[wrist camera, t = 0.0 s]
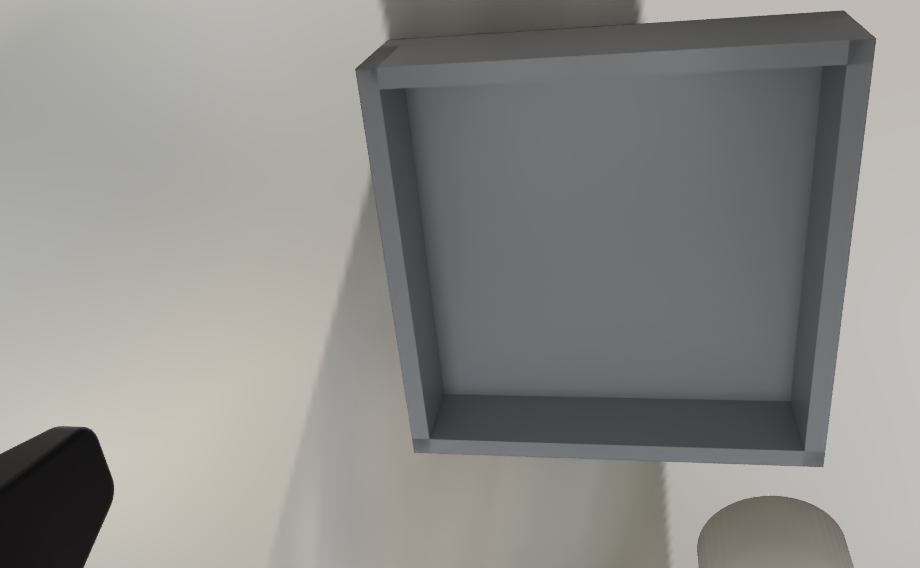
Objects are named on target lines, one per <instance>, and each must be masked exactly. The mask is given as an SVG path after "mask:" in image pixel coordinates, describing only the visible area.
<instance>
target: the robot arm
mask: <svg viewBox="0 0 920 568" xmlns="http://www.w3.org/2000/svg"><path fill="white" fill-rule="evenodd" d="M113 495H114V483H113V479H112V476H111V473H110V471H109V468H108V465H107V462H106V460H105V457H104V454H103V451H102V449H101V446H100V443H99V440H98V438H97V436H96V434H95V433H94V432H93V431H92V430H91V429H89V428H86V427H67V426H65V427H64V426H60V427H54V428H52V429H49V430H47V431H45V432H43V433H41V434H40V435H37V436H35V437H33V438H32V439H29V440H28V441H25V442H23V443H21V444H19V445H17V446H15V447H13V448H12V449H9V450H7V451H6V452H3V453H2V454H0V568H84V565H85V563H86V561H87V558H88V556H89V554H90V552H91V549H92V547H93V545H94V543H95V540H96V538H97V536H98V533H99V531H100V529H101V527H102V524H103V522H104V520H105V517H106V515H107V513H108V511H109V508H110V506H111V503H112V500H113Z"/></svg>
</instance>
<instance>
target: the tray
mask: <svg viewBox="0 0 920 568" xmlns="http://www.w3.org/2000/svg"><path fill="white" fill-rule="evenodd" d="M875 43H876V38H875V37H874V36H873V35H871V34H870V33H869V32H868V31H867V30H866V29H864V28H863V27H862V26H861V25H860V24H859V23H857V22H856V21H855V20H854V19H853V18H851V16H849V15H848V14H847V13H846V12H845V11H830V12H814V13H799V14H784V15H768V16H753V17H739V18H738V17H737V18H723V19H707V20H691V21H676V22H660V23H645V24H630V25H614V26H599V27H583V28H568V29H553V30H537V31H522V32H506V33H491V34H476V35H460V36H445V37H429V38H414V39H399V40H388V41H386V42H385V43H384V44H383V45H382V46H381V47H380V48H378V49H377V50H376V51H375V52H374V53H373V54H372V55H371V56H369V57H368V58H367V59H366V60H365V61H364V62H363V63H362V64H360V65H359V66H358V67H357V68H356V69H355V70H356V77H357V83H358V90H359V95H360V103H361V109H362V116H363V122H364V129H365V135H366V142H367V148H368V155H369V161H370V168H371V174H372V181H373V187H374V194H375V200H376V207H377V213H378V220H379V226H380V233H381V239H382V246H383V252H384V259H385V265H386V272H387V278H388V285H389V291H390V298H391V304H392V311H393V317H394V324H395V330H396V337H397V343H398V350H399V356H400V363H401V369H402V376H403V382H404V389H405V395H406V402H407V408H408V414H409V421H410V427H411V434H412V440H413V447H414V453H437V454H466V455H494V456H523V457H551V458H580V459H608V460H637V461H666V462H694V463H695V462H696V463H723V464H753V465H754V464H755V465H780V466H810V467H823V464H824V456H825V447H826V440H827V432H828V424H829V423H828V422H829V416H830V407H831V399H832V391H833V382H834V375H835V367H836V359H837V351H838V343H839V334H840V327H841V318H842V310H843V302H844V293H845V286H846V278H847V269H848V262H849V254H850V246H851V237H852V229H853V221H854V213H855V205H856V196H857V189H858V181H859V173H860V164H861V157H862V149H863V141H864V132H865V124H866V116H867V108H868V99H869V92H870V84H871V76H872V68H873V60H874V51H875Z"/></svg>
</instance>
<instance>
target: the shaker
mask: <svg viewBox="0 0 920 568" xmlns="http://www.w3.org/2000/svg"><path fill="white" fill-rule="evenodd" d="M697 552H698V563H699V568H854V567H853V564H852V560H851V557H850V554H849V551H848V547H847V544H846V540H845V537H844V534H843V532H842V530H841V529H840V527H839V526H838V524H837V523H836V522H835V520H834V519H832V518H831V517H830V516H829V515H828V514H827V513H825V512H824V511H823V510H821V509H819V508H817V507H816V506H814V505H812V504H809V503H807V502H805V501H801V500H798V499H794V498H788V497H781V496H761V497H754V498H749V499H744V500H741V501H738V502H736V503H733V504H731V505H728V506H727V507H725V508H723V509H721V510H720V511H719V512H717V513H716V514H715V515H713V517H711V518H710V519H709V520H708V522H707V523H706V524H705V526H704V527H703V529H702V531H701V533H700V536H699V539H698V545H697Z"/></svg>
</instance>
